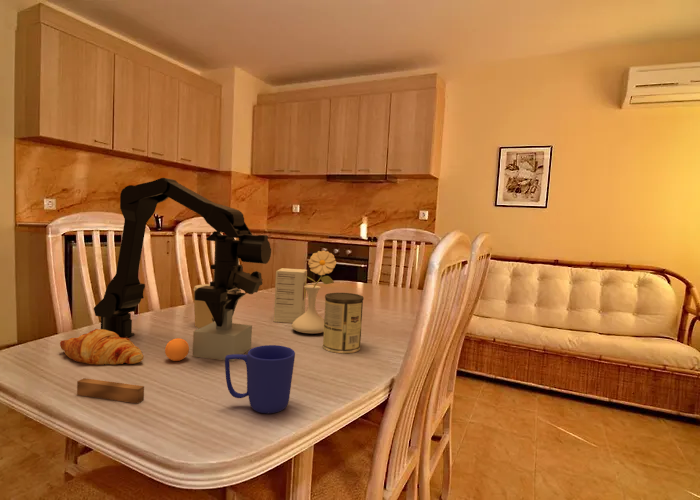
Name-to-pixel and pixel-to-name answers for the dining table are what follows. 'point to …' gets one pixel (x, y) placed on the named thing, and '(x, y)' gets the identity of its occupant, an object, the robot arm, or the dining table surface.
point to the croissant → (101, 348)
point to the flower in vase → (315, 293)
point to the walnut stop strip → (110, 390)
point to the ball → (177, 349)
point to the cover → (222, 339)
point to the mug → (265, 377)
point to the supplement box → (289, 294)
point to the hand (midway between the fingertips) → (224, 324)
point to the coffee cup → (202, 311)
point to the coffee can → (342, 322)
